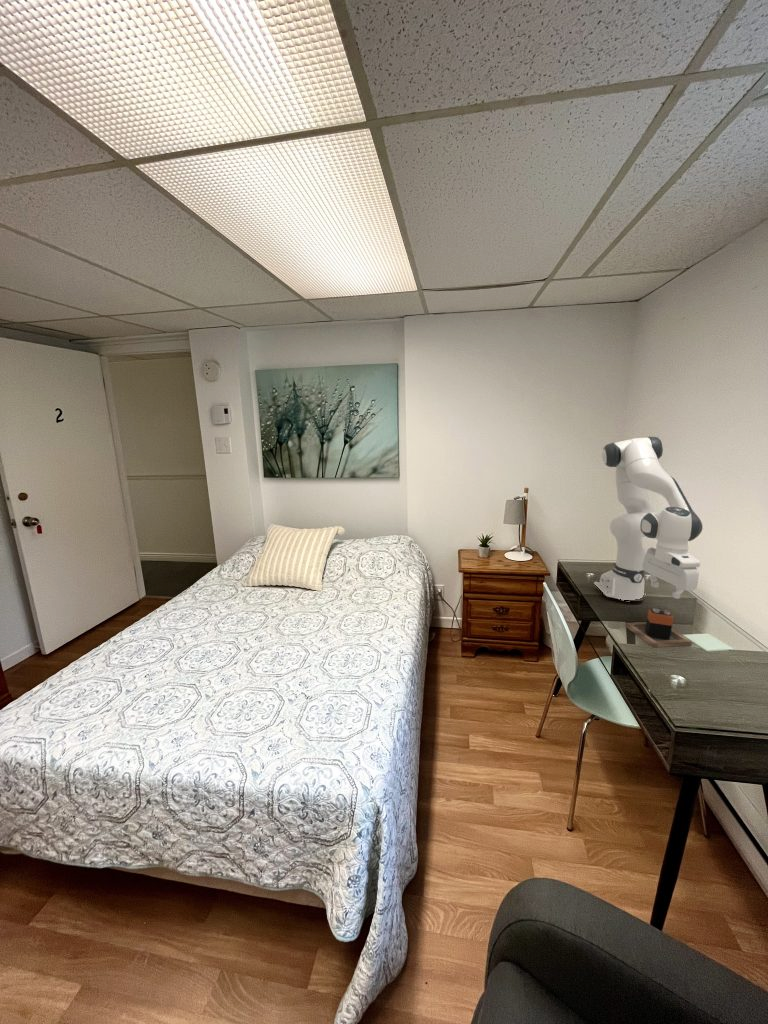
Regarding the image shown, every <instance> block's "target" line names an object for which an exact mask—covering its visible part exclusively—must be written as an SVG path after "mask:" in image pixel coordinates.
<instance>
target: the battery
mask: <svg viewBox="0 0 768 1024" xmlns="http://www.w3.org/2000/svg"><path fill="white" fill-rule="evenodd" d="M645 622H646V628H644V633H645V634H646V635H647V636H649V637H650V638H653V639H654V638H655V639H660V640H661V639H662V640H671V636H672V635H671V630H672V629H673V623H674V616H673V614H672V613H671V612H670V611H668V610H660V609H658V608H650V609H647V617H646V621H645Z"/></svg>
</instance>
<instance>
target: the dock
mask: <svg viewBox="0 0 768 1024" xmlns="http://www.w3.org/2000/svg"><path fill="white" fill-rule="evenodd" d="M646 622H647V621H645V622H643V621H642V622H626V623H625V628H626V629H628V630H629V631H630V632H632V633H634V634H635V635H636V636H638V637H639V638H640V639H642V640H643V641H645V643H647V644H648V645H650V646H651V647H652V648H667V647H685V646H686V647H687V646H688V647H690V646H692V645H693V644H692V641H690V640H689V639H687V638H686V637H684V636H683V635H684V634H681V633H679V632H678V631H677V630H675V629H673V628H672V630H671V635H670V636H672V637H674V638H675V639H669V640H666V639H662V640H654V638H653V637H649V636H648V635H647V634H646V632H643V631H642V630H641V629H645V628H646Z"/></svg>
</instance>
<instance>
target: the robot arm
mask: <svg viewBox="0 0 768 1024" xmlns="http://www.w3.org/2000/svg"><path fill="white" fill-rule="evenodd" d="M602 448H603V449H602V453H601V457H602V461H603V463H604V465H606V467H610V468H615V484H616V485H615V486H616V492H617V493H616V494H617V499H618V502H620V504H622V505H623V507H624V509H625V510H626V513H624V514H621V515H618V516H617V517H615V518H613V519H612V520H611V521H610V525H609V529H610V532H611V534H612V535H613V536H614V538H615V539H616V544H617V550H616V551H617V552H616V553H617V554H616V562H613V563H611V566H613V567H612V569H611V570H609V571H607V572H603V573H602V574H601V576H600V578H599V581H600V582H597V581H598V580H596V581H594V582H593V585H594V584H595V585H596V586H597V587H598V588H599V589H600V590H601V591H602V592H603V595H604V596H606V597H607V598H613V599H618V600H620V599H621V600H620V601H624V600H635V599H640V598H642V597H643V595H644V592H645V578H644V577H645V574H646V573H648V574H649V579H650V580H651V582H650V583H651V584H650V586H651V587H653V588H659V585H660V582H659V581H658V578H659V579H661V580H662V581H665V582H667V583H669V584H671V585H673V586H675V591H672V594H671V597H672V598H674V599H677V600H678V599H680V598H681V595H682V594H683V592H684V591H694V590H696V589H697V587H698V583H699V573H700V572H699V569H698V568H699V567H701V562H700V560H699V559H698V558H696V557H694V555H692V554H691V553H690V552H689V545H688V542H692V541H693V540H695V539H697V538H698V537H699V536H700V534H701V533H702V531H703V523H702V520H701V519H700V517H699V515H698V514H696V512H695V511H694V510H693V508H692V506H691V504H690V503H689V501H688V499H687V497H686V496H685V494H684V493H683V490H682V489H681V487H680V485H679V483H678V482H677V480H676V479H675V478H674V477H672V476H671V475H669V474H668V473H667V472H666V471H665V470H664V468H663V467H662V465H661V463H660V462H659V459H660V458H661V457H662V456H663V451H664V446H663V443H662V440H661V439H660V438H659V437H658V436H646V437H634V438H629V439H625V440H621V441H617V442H610V443H608V444H606V445H604V447H602ZM648 491H651V492H653V493H656V494H659V495H660V496H662V497H663V498H664V499H665V500H666V501H667V503H668V507H665V508H663V510H661V511H654V509H653V506H652V504H651V502H650V500H649V496H648ZM643 537H646V538H649V539H653V540H657V543H656V545H655V546H656V547H649V548H648V549H645V548H644V546H643ZM595 585H594V586H595ZM596 586H595V587H596ZM597 587H596V588H597ZM598 588H597V589H598ZM599 589H598V590H599ZM600 590H599V591H600ZM602 592H601V593H602Z"/></svg>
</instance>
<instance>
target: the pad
mask: <svg viewBox="0 0 768 1024" xmlns="http://www.w3.org/2000/svg"><path fill="white" fill-rule="evenodd" d="M682 635H683V636H684V637H686V638H687V639H689V640H690V641H692V643H693V644H694V645H695V646H697V647H698V648H700V649H702V650H703V651H705V652H708V653H709V652H729V650H731V651H734V650H735V648H734V647H731V646H730V645H728V644H727V643H724V641H721V640H720V639H718V638H716V637H715V636H713V635H712V634H710V633H693V634H682Z"/></svg>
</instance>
